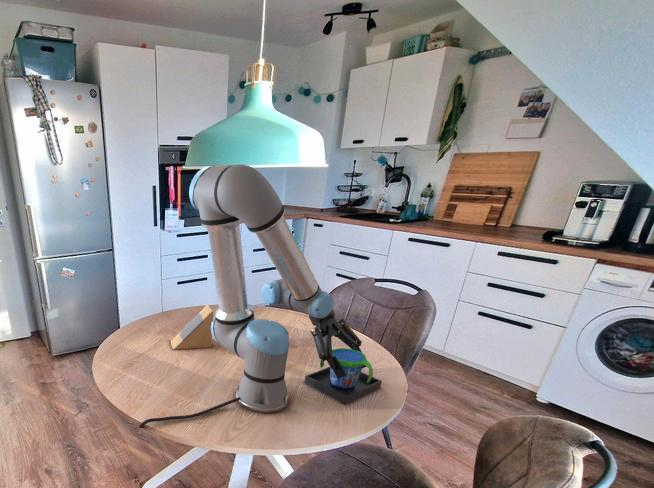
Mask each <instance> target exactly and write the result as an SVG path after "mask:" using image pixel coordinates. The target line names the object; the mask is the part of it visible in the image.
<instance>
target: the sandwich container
mask: <svg viewBox="0 0 654 488" xmlns="http://www.w3.org/2000/svg"><path fill="white" fill-rule="evenodd" d="M213 318H214V310H213V309H212V308H211V305H209V303H207V304H206V305H205V306H204V307H203V308H202V309H201V310H200V311H199V313H198V314H196V315H195V316H194V318H192V319H191V320H190V321H189V323H187V325H185V326H184V328H182V329H181V331H179V332H178V333H177V334H176V335H175V336H174V337H173V338H172V339H171V340H170V345H171V347H172V349H173V350H189V349H203V348H204V349H205V348H212V347H213V336H212V333H211V323H212V322H213V321H214V319H213Z"/></svg>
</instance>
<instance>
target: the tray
mask: <svg viewBox="0 0 654 488" xmlns="http://www.w3.org/2000/svg"><path fill="white" fill-rule="evenodd" d="M368 377H369V374H367V373H364V372H362V371H361V373H360V376H359V378H358V380H357V383H356V385H355V387H353V388H348V389H343V388H340V387H337V386H335V385H333V384H332V383H331V381H330V366H327V367H325V368H323V369H322V368H321V369H320V370H317V371H314V372H312V373H309V374H307V375H305V377H304V383H305V384H306V385H308V386H310V387H312V388H313V389H316V390H317V391H319V392H321V393H323V394H325V395H327V396H329V397H330V398H333V399H335V400H336V401H338V402H340V403H342V404H344V405H347V404H350V403H352V402H354V401H356V400H359V399H360V398H362V397H365V396H366V395H368V394H371V393H372V392H375V391H377V390H379V389H381V386H382V382H383V381H382V380H380V379H378V378H377V377H375V376H372V378H371V380H370V381H369V382H368V383H367V380H368Z"/></svg>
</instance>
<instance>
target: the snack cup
mask: <svg viewBox="0 0 654 488" xmlns="http://www.w3.org/2000/svg"><path fill="white" fill-rule="evenodd" d="M332 353H333V357H334V356H336V358H337V360H338V362H339V363H340V365H341V367H342V369H343V371H344V372H345V374H346V376H344V377H342V378H340V379H338V378H337V376H336V374H335V373H334V371H333V369H331V367H330V366H329V367H330V381H331V383H332V384H333V385H335V386H337V387H340V388H343V389H348V388H353V387H355V385H356V383H357V380H358V378H359V376H360V373H361V372H362V371H363V369H364V368H363V366H364V365H365V366H366V367H365V368H367V369H368V375H369V377H368V380H367V383H368V382H369V381H370V380H371V378H372V377H374V376H373V375H374V374H373V373H374V370H373V365H372V364H371V363H370V361H368V358H367V356H366V355H365V354H364V353H363V352H362V353H361V352H359V351H356V350H353V349H351V348H346V347H339V348H338V347H337V348H334V349H332ZM324 366H325V361H323V359H320V361H319V367H320V368H321V369H322V368H324ZM362 368H363V369H362Z"/></svg>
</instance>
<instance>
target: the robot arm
mask: <svg viewBox="0 0 654 488" xmlns="http://www.w3.org/2000/svg"><path fill="white" fill-rule="evenodd" d="M188 197H189V201H190V203H191V206H192V207H193V208H194V209H195V210H197V211H198V212H199V217H200V223H201V226H203V227H204V228H205V229H206V230H207V232H208V240H209V247H210V254H211V263H212V268H213V275H214V282H215V283H214V284H215V288H216V295H217V302H218V303H217V304H218V308H217V309H216V310H215V313H214V315H213V322H212V323H211V333H212V339H213V340H214V341H215V342H216V343H217V344H218V345H219V346H220V347H221V348H223V349H225V350H227V351H229V352H231V353H232V354H234V355H236V356H237V357H238V358H241V360H243V363H244V366H243V374H242V377H241V379H240V381H239V383H238V386H237V388H236V391H235V398H232V399H230V400H228V401H225V402H222V403H220V404H218V405H215V406H213V407H210V408H207V409H205V410H202V411H199V412H196V413H191V414H186V415H185V414H184V415H172V416H164V417H153V418H148V419H146V420H144V421H143V422H141V423H140V424H139V425H138V429H141V428H143V427H144V426H145V425H146V424H149V423H154V422H164V421H171V420H185V419H192V418H197V417H200V416H203V415H205V414H209V413H211V412H213V411H216V410H218V409H221V408H223V407H226V406H229V405H231V404H233V403H236V402H237V403H238V404H239V405H240V406H242V407H243V408H245V409H247V410H249V411H252V412H255V413H261V414H262V413H263V414H272V413H276V412H279V411H283V410H284V409H286V407H287V406H288V404H289V396H290V395H289V391H288V390H287V385H286V379H285V375H286V368H287V361H288V356H289V355H288V353H289V347H290V334H289V331H288V329H287V328H286V327H285V326H284V325H282V324H281V323H279V322H277V321H274V320H268V319H266V318H265V319H264V318H258V319H255V309H254V306H252V305H251V304H249V302H248V292H247V283H246V274H245V273H246V272H245V263H244V254H243V245H242V235H241V226H240V224H241V223H243V224H244V225H245V227H246V228H247V230H248V231H249V232H250V233H253V234H255V235H256V237H257V238H258V240H259V241H260V243H261V245H262V247H263V249H264V251H265V252H266V254H267V256H268V257H269V258H270V260H271V262H272V264H273V266H274V267H275V269H276V270H277V272H278V275H280V277H281V278H279V279H273V280H272V281H269V282H266V283H264V285H263V286H262V288H261V298H262V300H263V301H264V304H266V305H267V306H268V307H269V306H270V307H274V306H278V305H282V306H284V307H288V308H290V309H293V310H296V311H298V312H301V313H302V314H305V315H308V319H309V321H310V322H311V324H312V326H314V328H312V329H311V330H310V334H311V336H312V338H313V340H314V341H313V342H314V344H315V349H316V352H317V355H318V359H319V360H321V359H323V361H324V362H325V361H327V364H328V365H329V367H331V369H333V371H334V373H335V374H336V376H337V378H338V379H340V378H342V377H344V376H346V374H345V372H344V371H343V369H342V367H341V365H340V363H339V362H338V360H337V358H336V356H334V357H333V353H332V350H333V343H332V337H334V338H338V340H339V341H341V342H342V343H344V344H345V345H346V346H347V347H349V349H353V350H356V351H359V352H361V353H363V351H362V349H361V348H360V347H361V346H362V343H363V342H362V340H361V339H360V338H359V336H357V334H356V333H355V332H354V330H352V329H351V328H350V326H349V325H348V324H347V322H346V320H345V319H344V318H340V319H339V320H337V319H336V317H335V316H336V313H335V311H334V309H333V308H334V306H335V299H334V296H333V295H332V294H331V293H329V292H327V291H325V290H324V291H323V290H322V289H321V287H320V285H319V283H318V281H317V279H316V277H315V275H314V273H313V271H312V270H311V268H310V265H309V264H308V261H307V259H306V258H305V256H304V254H303V252H302V250H301V248H300V246H299V243H298V242H297V240H296V237H295V236H294V234H293V232H292V230H291V228H290V226H289V224H288V222H287V219H286V218H285V211H286V208H285V206H284V205H283V202H282V200H281V198H280V197H279V195H278V193H277V191H276V190H275V189H274V187H273V186H272V184H271V183H270V181H268V180H267V178H266V177H265V176H264V175H263V174H262V173H261V172H260V171H259V170H257V169H255V167H252V166H251V165H247V164H240V163H239V164H213V165H209V166H205V167H203V168H201V169H200V170H198V171H197V172H196V173H195V175H194V176H193V178H192V179H191V182H190V185H189V190H188ZM364 368H367V367H366V366H365V365H364V366H363V368H362V370H363V369H364Z"/></svg>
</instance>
